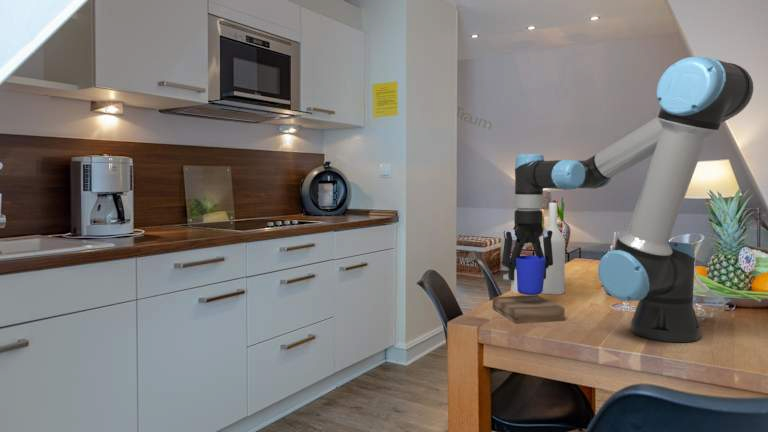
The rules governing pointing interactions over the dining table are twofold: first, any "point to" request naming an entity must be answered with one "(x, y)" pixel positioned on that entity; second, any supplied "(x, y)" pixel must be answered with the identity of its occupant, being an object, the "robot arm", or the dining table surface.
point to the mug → (530, 274)
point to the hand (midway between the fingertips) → (526, 291)
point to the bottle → (555, 256)
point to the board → (528, 309)
